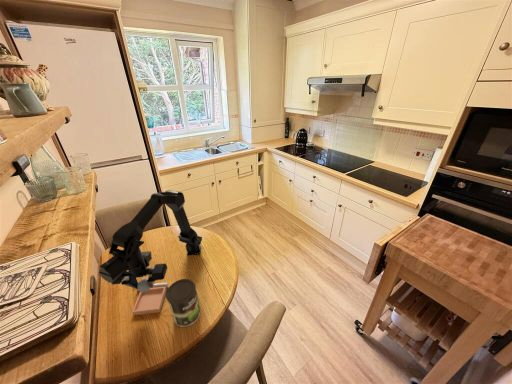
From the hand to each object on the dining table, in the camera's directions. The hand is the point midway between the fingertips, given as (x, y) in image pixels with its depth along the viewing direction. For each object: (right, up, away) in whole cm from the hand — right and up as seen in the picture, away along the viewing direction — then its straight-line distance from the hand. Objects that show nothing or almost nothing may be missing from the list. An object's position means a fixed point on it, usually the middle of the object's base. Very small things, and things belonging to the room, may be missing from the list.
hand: (145, 287), depth 84 cm
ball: (0, -1, 0) cm, 1 cm away
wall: (-2, -5, +10) cm, 11 cm away
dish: (0, -8, +4) cm, 9 cm away
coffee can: (+17, -10, 0) cm, 20 cm away
